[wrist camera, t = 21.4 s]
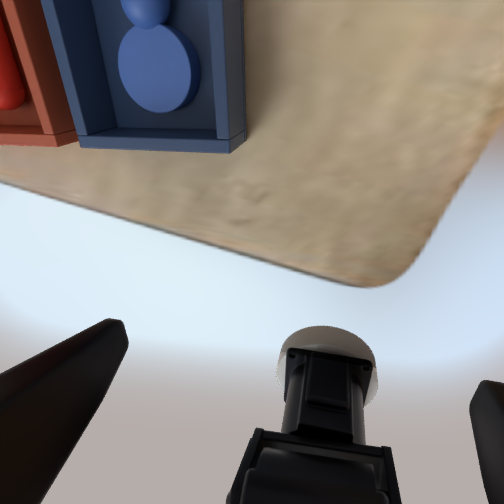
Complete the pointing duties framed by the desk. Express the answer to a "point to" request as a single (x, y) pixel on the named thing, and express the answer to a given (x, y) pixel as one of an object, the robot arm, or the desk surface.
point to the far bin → (35, 81)
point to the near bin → (119, 101)
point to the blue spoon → (157, 59)
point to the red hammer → (9, 76)
